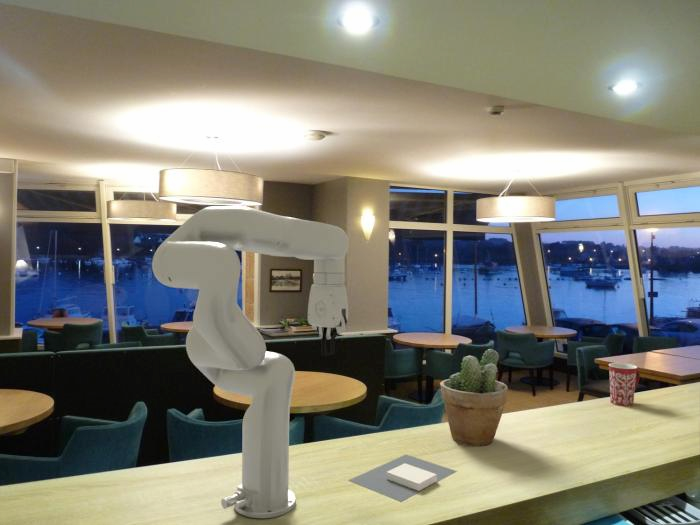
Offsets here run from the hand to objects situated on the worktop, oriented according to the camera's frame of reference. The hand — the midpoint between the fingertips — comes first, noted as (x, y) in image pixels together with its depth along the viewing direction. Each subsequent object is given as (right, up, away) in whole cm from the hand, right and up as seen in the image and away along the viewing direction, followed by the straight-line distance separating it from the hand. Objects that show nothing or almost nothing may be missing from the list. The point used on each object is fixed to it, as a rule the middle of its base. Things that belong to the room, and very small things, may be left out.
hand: (328, 354), depth 134 cm
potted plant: (+40, -28, +20) cm, 52 cm away
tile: (+16, -26, -6) cm, 31 cm away
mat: (+18, -28, -7) cm, 34 cm away
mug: (+103, -27, +59) cm, 122 cm away
